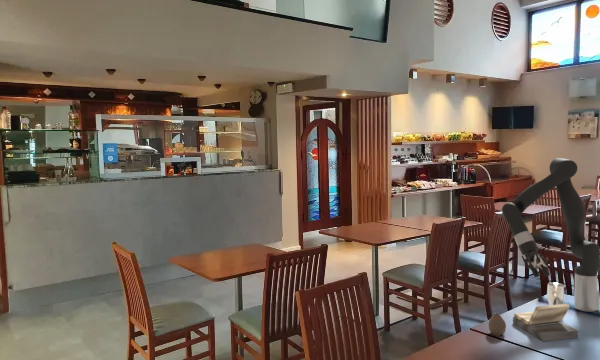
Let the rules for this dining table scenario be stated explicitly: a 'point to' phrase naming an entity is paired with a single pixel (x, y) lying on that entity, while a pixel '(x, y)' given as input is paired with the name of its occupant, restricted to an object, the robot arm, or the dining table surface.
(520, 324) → the floor board
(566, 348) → the dining table surface
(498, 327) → the vase
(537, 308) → the oak plank
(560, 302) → the metal can
